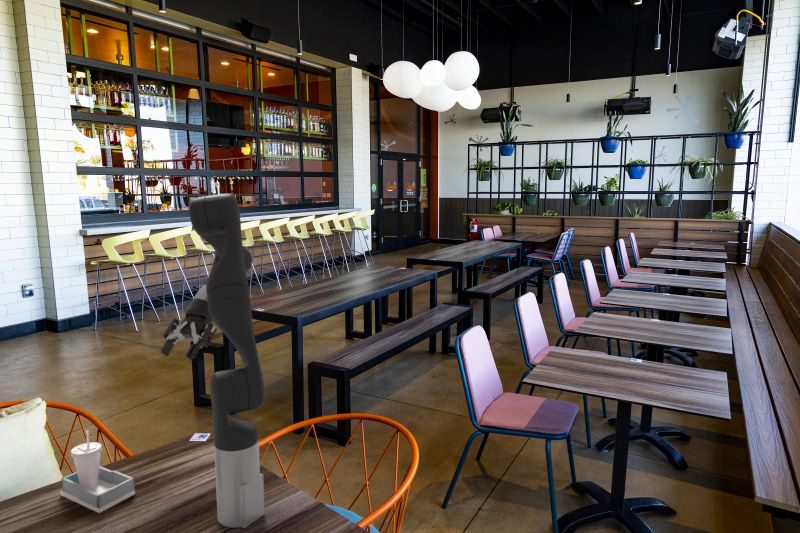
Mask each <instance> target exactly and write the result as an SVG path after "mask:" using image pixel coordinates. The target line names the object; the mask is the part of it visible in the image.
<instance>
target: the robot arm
mask: <svg viewBox="0 0 800 533" xmlns="http://www.w3.org/2000/svg"><path fill="white" fill-rule="evenodd" d="M188 209H189V210H188V212H189V214H188V215H189V220H190V223H191V225H192V228H193V229H194V231H195V233H196V234H197V235H198V236H199V237H200V238H201V239H202V240H204V241H205V242H206V243H207V244H208V245H210V246H211V247H212V249H213V250H214V252H215V254H214V257H213V258H214V259H213V263H212V266H211V269H210V272H209V274H208V276H207V277H206V280H205V281H204V282H203V284H202V286H201V287H200V289H199V290H198V291H197V292H196V294H195V296H194V297H193V299H192V301H191V302H190V304H189V305H188V307H187V309H186V310H185V317H184V319H182V320H179V319H178V318H176V317H175V318H173V319H172V321H171V322H170V324H169V325H168V327H167V328H166V330H165V331H164V333H163V334H162V337H163V338H164V339H165V340H166V341H165V342H164V344H163V346H162V348H161V349H160V354H161V355H163V356H164V357H168V356H169V355H170V353H171V351H172V350H173V348H174V347H175V344H176V343H177V342H179V341H183V340H185V338H186V339H192V341H193V343H191V345H190V346H189V348H188V351H187V352H186V353H185V358H186V359H187V360H188V361H193V359H195V357H197V354H198V352H199V350H200V349H202V348H203V347H205V348H208V347H209V346H210V344H211V342H212V340H213V338H214V336H215V335H216V332H217V330H218V329H219V330H220V331H221V333H223V335H225V337H226V338H227V339H229V341H230V342H231V343H232V344H233V346H234V347H235V349H236V350H237V353H238V354H239V357H240V359H241V361H242V364H243V367H239V368H235V369H233V368H232V369H225V370H220V371H216V372H213V374H212V376H211V378H210V381H209V382H210V383H209V390H210V400H211V401H210V402H211V410H212V411H211V412H212V421H213V422H212V423H213V442H214V443H213V445H214V463H215V464H214V466H215V467H214V468H215V491H216V508H217V510H216V512H217V522H218V523H219V524H220V525H221V526H223V527H226V528H231V529H233V528H243V529H246V528H247V527H249V526H250V525H251V524H253V523H254V522H256V521H257V520H258V519H260V518H261V517H263V516H264V515H265V514H266V512H265V511H266V510H265V488H264V487H265V486H264V484H265V483H264V474H263V473H260V472H261V471H260V469H261V468H260V443H259V442H260V438H259V428H258V426H257V425H256V424H254V423H253V422H250V421H247V420H242V419H237V418H234V417H231V416H230V415H234V414H239V413H244V412H250V411H254V410H259V409H261V408H262V407H263V406H264V404H265V394H266V392H265V385H264V383H265V382H264V377H263V372H262V367H261V362H260V359H259V353H258V349H257V343H256V342H257V341H256V338H255V331H254V321H253V312H252V302H251V296H250V286H249V282H248V277H247V272H248V271H249V270H250V269H251V267H252V265H253V264H252V263H253V256H252V254H251V252H250V250H249V249H248V248H246V247H245V246H244V245H243V238H242V235H243V234H242V224H241V212H240V207H239V202H238V199H237V198H236V196H235V195H234V194H232V193H219V194H212V195H206V196H205V195H204V196H203V195H202V196H199V197H195V198H193V199H192V200H191V201H190V203H189V206H188ZM213 323H214V324H213ZM215 325H216V326H217V327H218V328H217V327H216V326H215Z"/></svg>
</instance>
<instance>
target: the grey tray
mask: <svg viewBox="0 0 800 533" xmlns="http://www.w3.org/2000/svg"><path fill="white" fill-rule="evenodd" d="M135 487H136V486H135V478H134V477H132V476H129V475H128V474H124V473H122V472H119V471H117V470H111V469H108V468H106V467H104V466H101V465H100V466H99V481H98V486H97V487H95V488H94V489H91V490H88V489H86V488H83V485H80V484H79V480H78V476H77V472H76V471H75V472H73V473H72V474H71V473H70V474H69V475H66V476H64V477H62V478H61V489H62V490H60V495H61V496H62V497H63V498H66V499H68V500H70V501H72V502H73V503H74V502H75V503H77V504H79V505H81V506H83V507H85V508H87V509H89V510H92V511H94V512H96V513H98V514H100V513H102V512H103V511H106V510H109V508H112V507H114V506H116V505H118V504H119V503H121V502H122V501H125V500H126V499H128V498H130V497H132V496H134V495H135V494H136V488H135Z"/></svg>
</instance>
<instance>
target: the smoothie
mask: <svg viewBox="0 0 800 533" xmlns="http://www.w3.org/2000/svg"><path fill="white" fill-rule="evenodd" d="M89 432H90V430H88V429H87V430H86V431H85V434H86V442H85V443H80V444H79V445H76V446H75V447H72V449H71V450H70V457H71V458H73V463H74V467H75V470H76V471H75V472H77V476H78V480H79V484H80V485H83V488H86V489H88V490H91V489H94V488H95V487H97V486H98V481H99V466H101V465H100V464H101V463H100V462H101V461H100V460H101V451H102V450H103V447H102V443H101V442H100V443H99V442H97V441H95V442H93V441H92V442H91V441H90V433H89Z"/></svg>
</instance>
